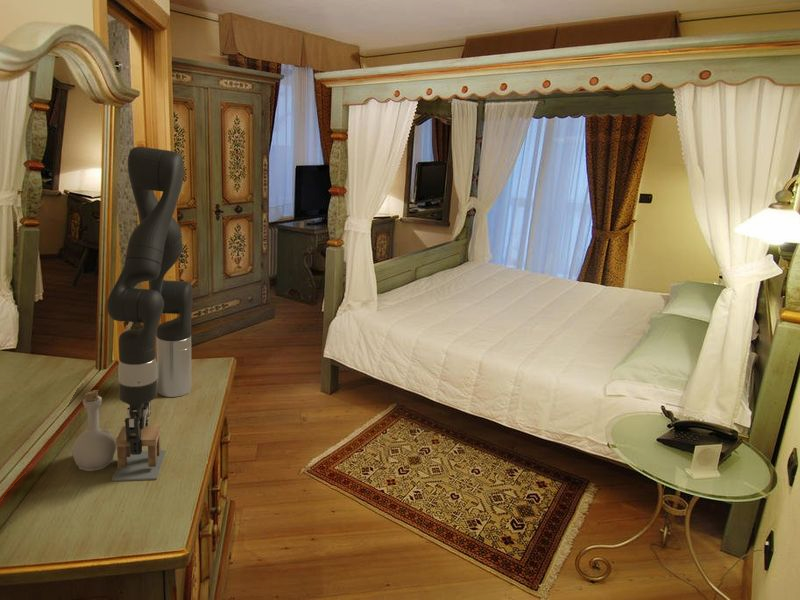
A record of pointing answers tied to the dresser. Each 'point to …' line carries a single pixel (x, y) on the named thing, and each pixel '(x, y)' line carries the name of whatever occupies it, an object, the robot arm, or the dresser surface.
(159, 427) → the small wooden bench
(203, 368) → the dresser surface
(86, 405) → the potion bottle
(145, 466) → the mat
